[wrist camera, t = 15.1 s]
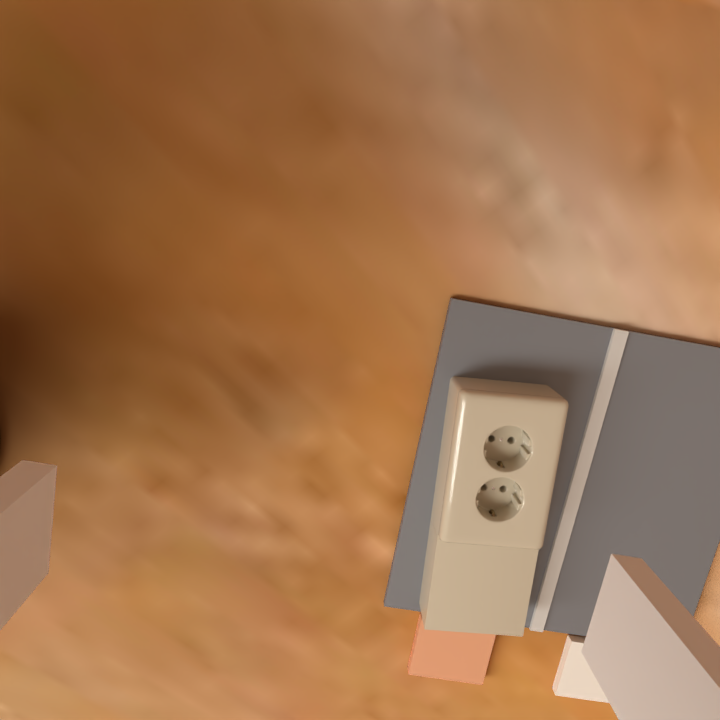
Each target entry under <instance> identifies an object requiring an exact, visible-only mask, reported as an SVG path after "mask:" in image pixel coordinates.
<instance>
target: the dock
mask: <svg viewBox="0 0 720 720" xmlns="http://www.w3.org/2000/svg"><path fill="white" fill-rule="evenodd" d="M454 376H457V377H467V378H478V379H489V380H500V381H511V382H521V383H532V384H543V385H548V386H549V387H551V388H552V389H553V390H554V391H556V392H557V393H558V394H559V395H561V396H562V397H563V398H564V399H565V400H567V401H568V405H569V407H568V413H567V418H566V423H565V429H564V434H563V440H562V445H561V450H560V456H559V461H558V467H557V472H556V477H555V483H554V488H553V494H552V499H551V505H550V510H549V515H548V521H547V526H546V532H545V537H544V542H543V546H542V548H541V549H539V551H538V557H537V562H536V567H535V573H534V578H533V584H532V589H531V595H530V600H529V606H528V611H527V617H526V622H525V627H527V628H529V629H530V630H531V631H538V632H543V630H547V631H554V632H561V633H567V634H574V635H581V636H586V635H587V632H588V628H589V625H590V622H591V618H592V615H593V612H594V609H595V605H596V602H597V599H598V596H599V592H600V589H601V586H602V583H603V579H604V576H605V573H606V569H607V566H608V563H609V560H610V556H611V554H617V555H623V556H629V557H636V558H642V559H643V561H644V562H645V563H646V564H647V565H648V566H649V567H650V568H651V570H652V571H653V572H654V573H655V574H656V575H657V576H658V578H659V579H660V580H661V581H662V582H663V583H664V584H665V585H666V587H667V588H668V589H669V590H670V591H671V592H672V593H673V595H674V596H675V597H676V598H677V599H678V600H679V601H680V602H681V604H682V605H683V606H684V607H685V608H686V609H687V610H688V611H689V613H690V614H691V615H692V616H694V613H695V610H696V607H697V604H698V602H699V599H700V596H701V593H702V590H703V587H704V584H705V581H706V579H707V576H708V573H709V570H710V567H711V564H712V561H713V558H714V555H715V553H716V550H717V547H718V544H719V541H720V347H716V346H710V345H705V344H699V343H694V342H688V341H683V340H678V339H672V338H667V337H661V336H656V335H651V334H645V333H640V332H634V331H629V330H623V329H618V328H613V327H607V326H602V325H596V324H591V323H585V322H580V321H575V320H569V319H564V318H558V317H553V316H548V315H542V314H537V313H531V312H526V311H520V310H515V309H510V308H504V307H499V306H493V305H488V304H482V303H477V302H472V301H466V300H461V299H455V298H450V302H449V306H448V311H447V315H446V320H445V324H444V329H443V333H442V338H441V343H440V347H439V352H438V356H437V361H436V365H435V370H434V375H433V379H432V384H431V388H430V393H429V397H428V402H427V407H426V411H425V416H424V420H423V425H422V429H421V434H420V438H419V443H418V448H417V452H416V457H415V461H414V466H413V470H412V475H411V480H410V484H409V489H408V493H407V498H406V502H405V507H404V512H403V516H402V521H401V525H400V530H399V534H398V539H397V543H396V548H395V553H394V557H393V562H392V566H391V571H390V575H389V580H388V585H387V589H386V594H385V598H384V606H386V607H393V608H400V609H407V610H413V611H420V612H421V610H420V605H419V600H420V593H421V586H422V578H423V571H424V564H425V557H426V549H427V542H428V535H429V528H430V521H431V513H432V506H433V499H434V492H435V484H436V477H437V470H438V463H439V456H440V448H441V441H442V434H443V427H444V419H445V412H446V405H447V398H448V391H449V383H450V379H451V378H452V377H454ZM574 635H568V636H567V640H566V643H565V646H564V650H563V653H562V656H561V660H560V663H559V666H558V670H557V673H556V676H555V680H554V683H553V686H552V689H553V691H554V693H555V695H557V696H564V697H571V698H578V699H585V700H592V701H599V702H606V703H609V701H608V699H607V697H606V696H605V694H604V692H603V690H602V688H601V686H600V685H599V683H598V681H597V679H596V677H595V676H594V674H593V672H592V670H591V668H590V667H589V665H588V663H587V661H586V659H585V657H584V656H583V654H582V652H581V651H582V648H583V645H584V641H585V638H586V637H580V636H574ZM495 637H496V635H495V634H481V633H467V632H453V631H439V630H425V629H424V625H423V620H422V615H421V613H420V616H419V620H418V624H417V629H416V633H415V637H414V641H413V646H412V650H411V654H410V658H409V663H408V674H409V675H416V676H423V677H430V678H437V679H444V680H451V681H458V682H465V683H472V684H480V685H483V682H484V678H485V674H486V670H487V667H488V663H489V659H490V655H491V652H492V648H493V644H494V641H495Z"/></svg>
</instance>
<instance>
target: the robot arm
mask: <svg viewBox="0 0 720 720" xmlns="http://www.w3.org/2000/svg"><path fill="white" fill-rule="evenodd" d="M56 474H57V465H51V464H45V463H39V462H33V461H26V460H22V461H21V462H19V463H18V464H17V465H15V466H14V467H12V468H11V469H10V470H8V471H7V472H6V473H4V474H3V475H2V476H0V630H1V629H2V628H3V626H4V625H5V624H6V623H7V622H8V620H9V619H10V618H11V617H12V616H13V614H14V613H15V612H16V611H17V610H18V609H19V607H20V606H21V605H22V604H23V603H24V601H25V600H26V599H27V598H28V597H29V595H30V594H31V593H32V592H33V591H34V590H35V588H36V587H37V586H38V585H39V584H40V582H41V581H42V580H43V579H44V578H45V576H46V575H47V574H48V572H49V559H50V547H51V535H52V523H53V511H54V498H55V486H56ZM581 652H582V654H583V656H584V657H585V659H586V661H587V663H588V665H589V667H590V668H591V670H592V672H593V674H594V676H595V677H596V679H597V681H598V683H599V685H600V686H601V688H602V690H603V692H604V694H605V696H606V697H607V699H608V701H609V703H610V705H611V706H612V708H613V710H614V712H615V714H616V716H617V717H618V719H619V720H720V647H719V645H718V644H717V643H716V642H715V641H714V640H713V639H712V638H711V636H710V635H709V634H708V633H707V632H706V631H705V630H704V628H703V627H702V626H701V625H700V624H699V623H698V622H697V621H696V619H695V618H694V617H693V616H692V615H691V614H690V613H689V611H688V610H687V609H686V608H685V607H684V606H683V605H682V604H681V602H680V601H679V600H678V599H677V598H676V597H675V596H674V595H673V593H672V592H671V591H670V590H669V589H668V588H667V587H666V585H665V584H664V583H663V582H662V581H661V580H660V579H659V578H658V576H657V575H656V574H655V573H654V572H653V571H652V570H651V568H650V567H649V566H648V565H647V564H646V563H645V562H644V561H643V559H642V558H636V557H629V556H623V555H617V554H611V556H610V560H609V563H608V566H607V569H606V573H605V576H604V579H603V583H602V586H601V589H600V592H599V596H598V599H597V602H596V605H595V609H594V612H593V615H592V618H591V622H590V625H589V628H588V632H587V635H586V638H585V641H584V645H583V648H582V651H581Z"/></svg>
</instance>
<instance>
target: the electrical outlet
mask: <svg viewBox="0 0 720 720" xmlns="http://www.w3.org/2000/svg"><path fill="white" fill-rule="evenodd" d="M568 407H569V405H568V401H567V400H565V399H564V398H563V397H562V396H561V395H559V394H558V393H557V392H556V391H554V390H553V389H552V388H551V387H549V386H548V385H543V384H532V383H521V382H511V381H500V380H489V379H478V378H467V377H457V376H454V377H452V378H451V379H450V383H449V391H448V398H447V405H446V412H445V419H444V427H443V434H442V441H441V448H440V456H439V463H438V470H437V477H436V484H435V492H434V499H433V506H432V513H431V521H430V528H429V535H428V542H427V549H426V557H425V564H424V571H423V578H422V586H421V593H420V600H419V605H420V610H421V615H422V620H423V625H424V629H425V630H439V631H453V632H467V633H481V634H495V635H509V636H523V633H524V627H525V622H526V617H527V611H528V606H529V600H530V595H531V589H532V584H533V578H534V573H535V567H536V562H537V557H538V551H539V549H541V548H542V546H543V542H544V537H545V532H546V526H547V521H548V515H549V510H550V505H551V499H552V494H553V488H554V483H555V477H556V472H557V467H558V461H559V456H560V450H561V445H562V440H563V434H564V429H565V423H566V418H567V413H568Z"/></svg>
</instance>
